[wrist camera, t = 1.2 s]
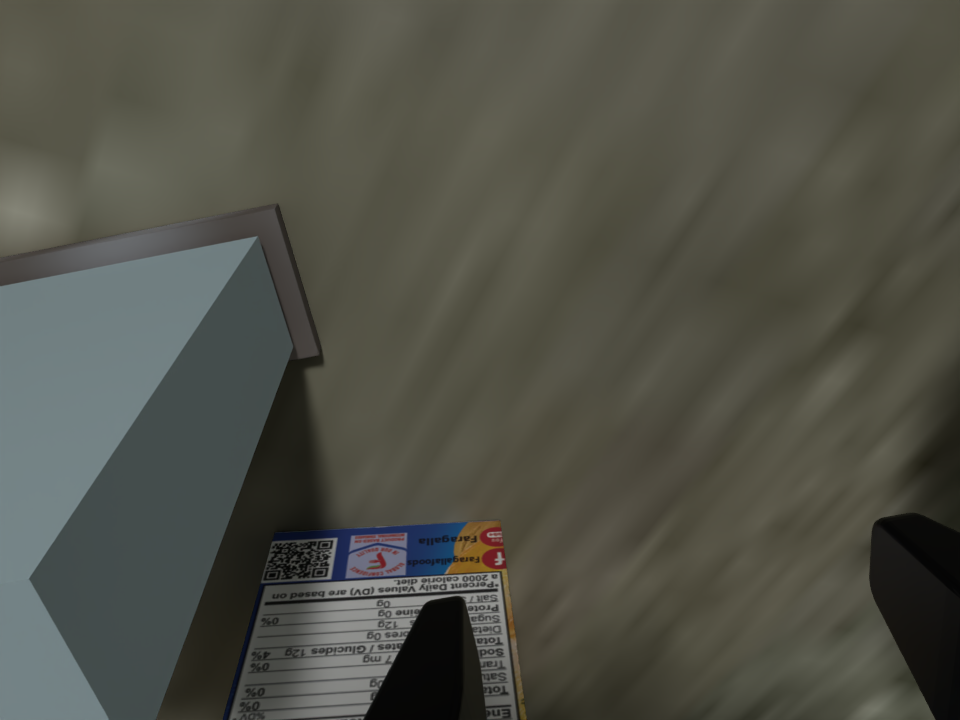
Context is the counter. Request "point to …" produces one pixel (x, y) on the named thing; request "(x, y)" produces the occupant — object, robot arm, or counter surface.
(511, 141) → the counter surface
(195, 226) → the brown piece
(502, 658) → the blue cardboard tall box
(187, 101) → the counter surface
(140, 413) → the blue-grey rectangular block
